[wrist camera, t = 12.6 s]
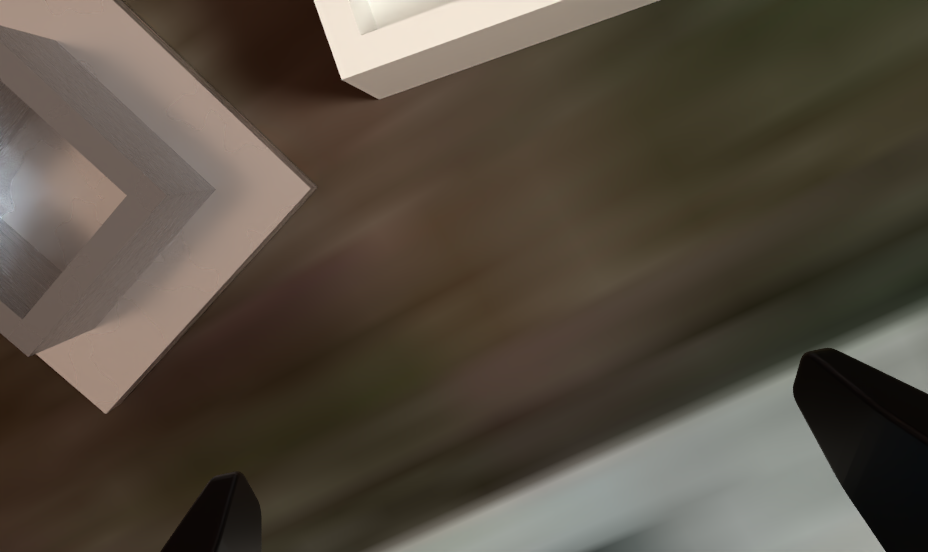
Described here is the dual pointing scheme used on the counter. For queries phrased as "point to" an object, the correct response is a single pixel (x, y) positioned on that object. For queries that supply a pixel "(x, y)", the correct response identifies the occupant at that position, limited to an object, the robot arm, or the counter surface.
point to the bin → (444, 34)
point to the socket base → (120, 192)
